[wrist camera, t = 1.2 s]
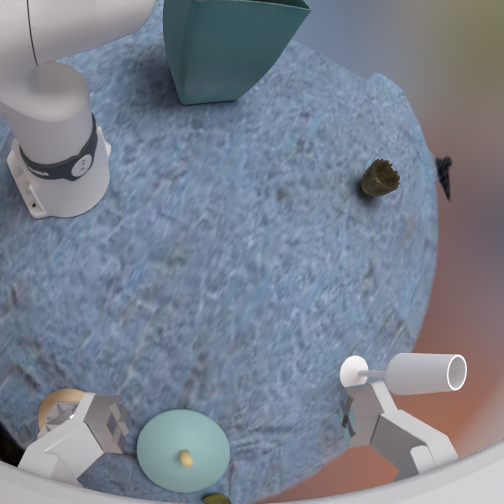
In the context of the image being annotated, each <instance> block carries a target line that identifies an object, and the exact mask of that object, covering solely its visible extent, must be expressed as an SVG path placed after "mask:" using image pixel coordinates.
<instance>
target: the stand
mask: <svg viewBox="0 0 504 504" xmlns="http://www.w3.org/2000/svg"><path fill="white" fill-rule="evenodd" d="M84 393H86V392H84V391H82V390H79V389H74V388H64V389H59V390H57V391H54V392H52V393H51V394H49V395H48V396H47V397H46V398H45V399H44V400H43V402H42V403H41V406H40V408H39V413H38V424H39V428H40V431H41V429H42V428H43V427H44V426H45V424H46V418H45V417H46V416H47V414H48V413H49V412H50V410H51V409H52V408H53V406H54V405H55V404H56V403H57V402H58V401H80V400H81V398H82V396H83V394H84ZM103 452H104V451H103ZM104 453H105V452H104ZM104 453H103V454H104ZM103 454H102V455H103ZM102 455H101V456H102ZM101 456H100V457H101Z"/></svg>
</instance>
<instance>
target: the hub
mask: <svg viewBox="0 0 504 504" xmlns="http://www.w3.org/2000/svg"><path fill="white" fill-rule="evenodd" d="M137 457H138V461H139V464H140V466H141V468H142V470H143V471H144V473H145V474H146V475H147V476H148V478H149V479H151V480H152V481H153V482H154V483H156V484H157V485H159V486H161V487H163V488H165V489H167V490H171V491H175V492H195V491H199V490H202V489H205V488H207V487H209V486H211V485H212V484H214V483H215V482H216V481H217V480H218V479H219V478H220V477H221V476H222V475H223V473H224V472H225V470H226V468H227V466H228V463H229V458H230V447H229V443H228V440H227V437H226V435H225V434H224V432H223V431H222V429H221V428H220V427H219V426H218V425H217V424H216V423H215V422H214V421H213V420H212V419H211V418H209V417H208V416H206V415H205V414H203V413H201V412H199V411H196V410H192V409H187V408H173V409H168V410H164V411H162V412H159V413H157V414H156V415H154V416H153V417H151V418H150V419H149V420H148V421H147V422H146V423H145V424H144V426H143V427H142V429H141V431H140V433H139V436H138V441H137Z"/></svg>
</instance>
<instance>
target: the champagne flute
mask: <svg viewBox="0 0 504 504" xmlns="http://www.w3.org/2000/svg"><path fill="white" fill-rule="evenodd" d="M466 371H467V369H466V363H465V360H464V358H463V357H462V356H461V355H445V354H416V353H400V354H397V355H396V356H394V357H393V358H392V359H391V360H390V361H389V363H388V364H387V366H386V368H385V371H375V370H368V366H367V363H366V362H365V360H364V359H363V358H361V357H359V356H351V357H349V358H348V359H346V360H345V361H344V363H343V364H342V367H341V370H340V380H341V382H342V385H343V386H344V387H349V386H355V385H361V384H365V382H366V380H367V378H368V377H384V380H385V383H386V385H387V387H388V388H389V390H390V391H391V392H392V393H394V394H397V395H410V394H422V393H434V392H444V391H452V390H458V389H459V388H461V386H462V385H463V383H464V381H465V378H466Z"/></svg>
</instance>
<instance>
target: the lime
mask: <svg viewBox="0 0 504 504" xmlns="http://www.w3.org/2000/svg"><path fill="white" fill-rule="evenodd" d="M203 502H204V503H205V504H231V502H230V500H229V498H227V497H225V496H224V495H222V494H213V495H209V496H207V497H205V498H204V499H203Z"/></svg>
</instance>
